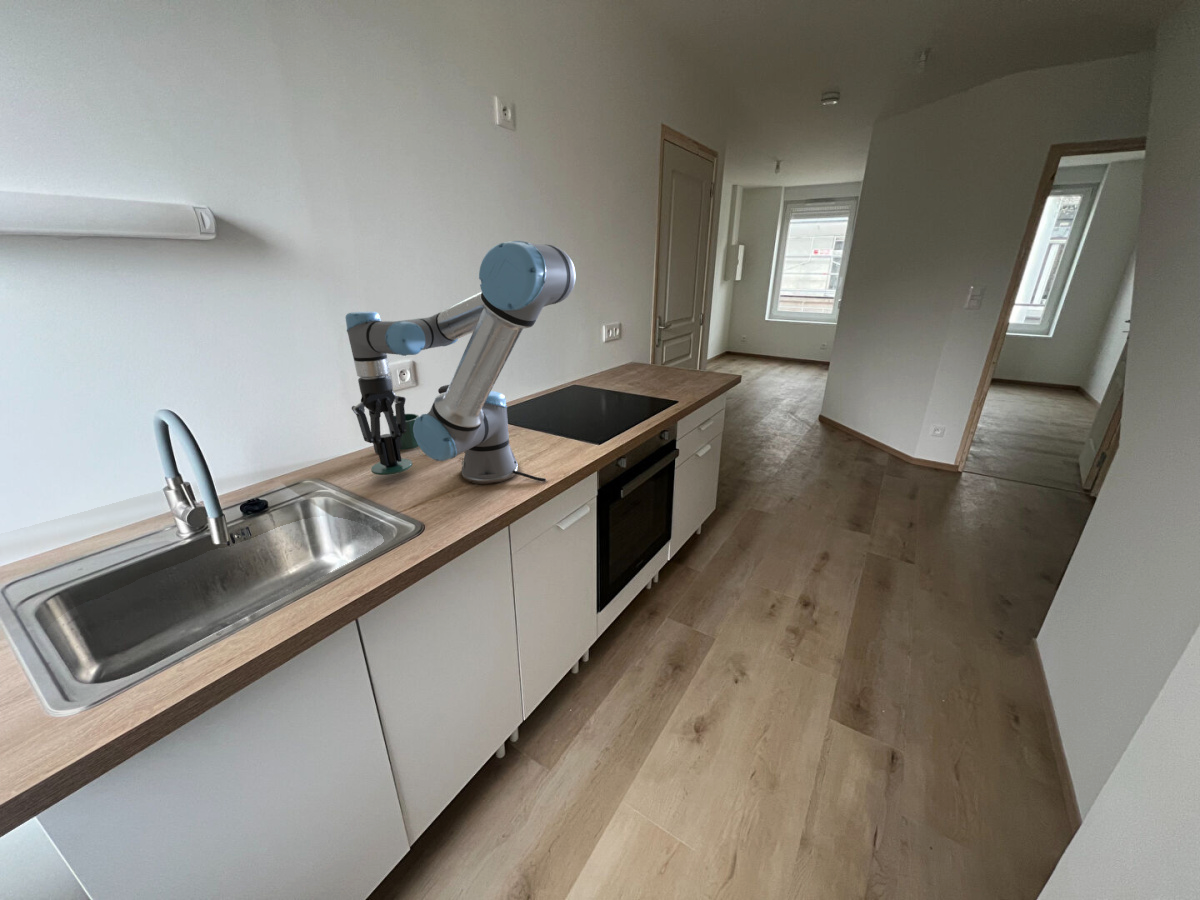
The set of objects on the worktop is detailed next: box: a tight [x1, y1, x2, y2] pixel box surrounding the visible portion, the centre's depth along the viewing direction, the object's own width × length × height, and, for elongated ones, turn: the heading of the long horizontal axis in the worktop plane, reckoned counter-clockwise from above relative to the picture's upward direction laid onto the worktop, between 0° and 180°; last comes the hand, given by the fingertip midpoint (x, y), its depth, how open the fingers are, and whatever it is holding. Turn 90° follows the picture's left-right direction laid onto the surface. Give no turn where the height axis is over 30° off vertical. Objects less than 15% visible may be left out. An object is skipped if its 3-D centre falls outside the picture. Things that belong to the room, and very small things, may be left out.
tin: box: [387, 413, 420, 450], centre depth 144 cm, size 9×9×10 cm
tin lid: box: [370, 433, 413, 476], centre depth 120 cm, size 10×10×10 cm
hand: (391, 462), depth 121 cm, fingers closed on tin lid, 3 cm apart
